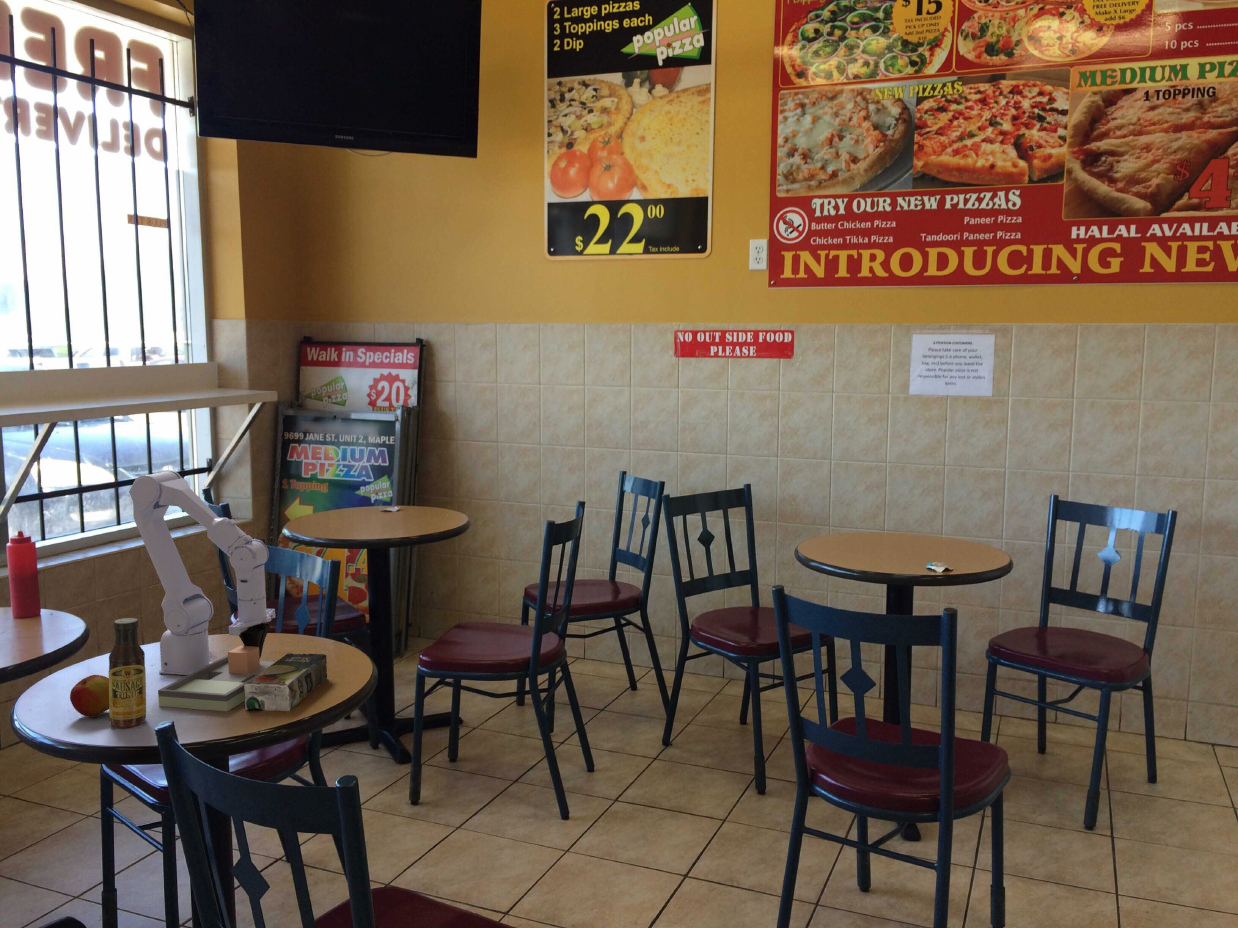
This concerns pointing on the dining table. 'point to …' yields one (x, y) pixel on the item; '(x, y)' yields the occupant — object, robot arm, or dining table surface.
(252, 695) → the juice carton
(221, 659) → the trap tray
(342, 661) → the dining table surface
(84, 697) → the apple
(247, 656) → the block
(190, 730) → the dining table surface
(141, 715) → the sauce bottle
